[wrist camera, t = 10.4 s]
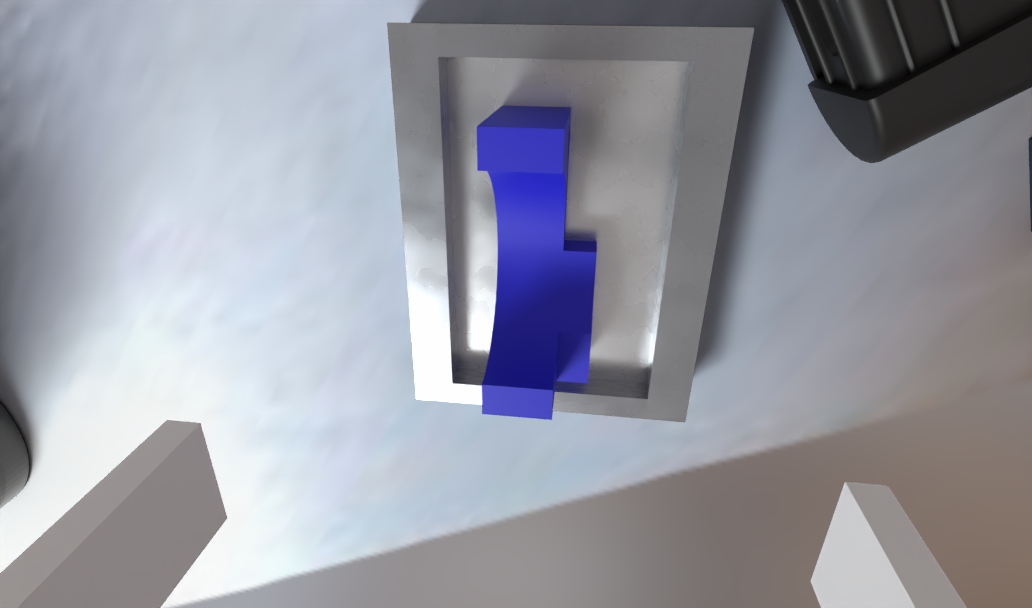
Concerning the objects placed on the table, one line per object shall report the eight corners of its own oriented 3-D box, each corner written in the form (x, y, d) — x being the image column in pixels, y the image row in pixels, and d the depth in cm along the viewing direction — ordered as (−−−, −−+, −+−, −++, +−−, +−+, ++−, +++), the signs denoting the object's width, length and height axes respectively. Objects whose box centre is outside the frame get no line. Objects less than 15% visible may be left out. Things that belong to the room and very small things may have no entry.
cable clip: (588, 351, 30) (586, 422, 24) (502, 344, 30) (482, 413, 25) (606, 107, 24) (609, 130, 19) (502, 105, 25) (476, 126, 19)
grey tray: (430, 369, 33) (416, 399, 30) (409, 23, 25) (387, 22, 23) (677, 388, 32) (685, 422, 29) (736, 27, 24) (754, 27, 21)
